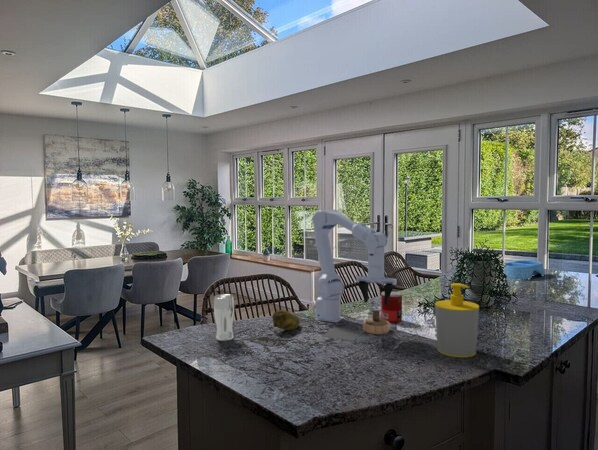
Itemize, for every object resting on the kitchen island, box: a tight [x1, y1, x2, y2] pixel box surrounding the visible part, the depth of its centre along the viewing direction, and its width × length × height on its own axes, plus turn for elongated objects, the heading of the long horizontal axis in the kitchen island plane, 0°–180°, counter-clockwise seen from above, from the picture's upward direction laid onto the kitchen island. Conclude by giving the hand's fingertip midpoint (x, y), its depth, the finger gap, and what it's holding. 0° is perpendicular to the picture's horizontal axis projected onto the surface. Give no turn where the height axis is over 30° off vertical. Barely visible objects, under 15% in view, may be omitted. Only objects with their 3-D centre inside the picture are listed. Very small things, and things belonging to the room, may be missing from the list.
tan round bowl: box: [362, 320, 391, 335], centre depth 157 cm, size 9×9×3 cm
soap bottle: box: [434, 282, 480, 358], centre depth 135 cm, size 13×13×21 cm
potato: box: [271, 309, 300, 331], centre depth 160 cm, size 8×13×8 cm, turn 127°
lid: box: [364, 309, 387, 326], centre depth 156 cm, size 8×8×4 cm
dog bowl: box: [503, 260, 546, 280], centre depth 264 cm, size 34×19×8 cm, turn 125°
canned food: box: [380, 290, 403, 324], centre depth 170 cm, size 8×8×11 cm
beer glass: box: [213, 293, 235, 342], centre depth 151 cm, size 7×7×15 cm
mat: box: [321, 326, 367, 342], centre depth 153 cm, size 12×12×1 cm
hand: (376, 302), depth 156 cm, fingers open, 7 cm apart
